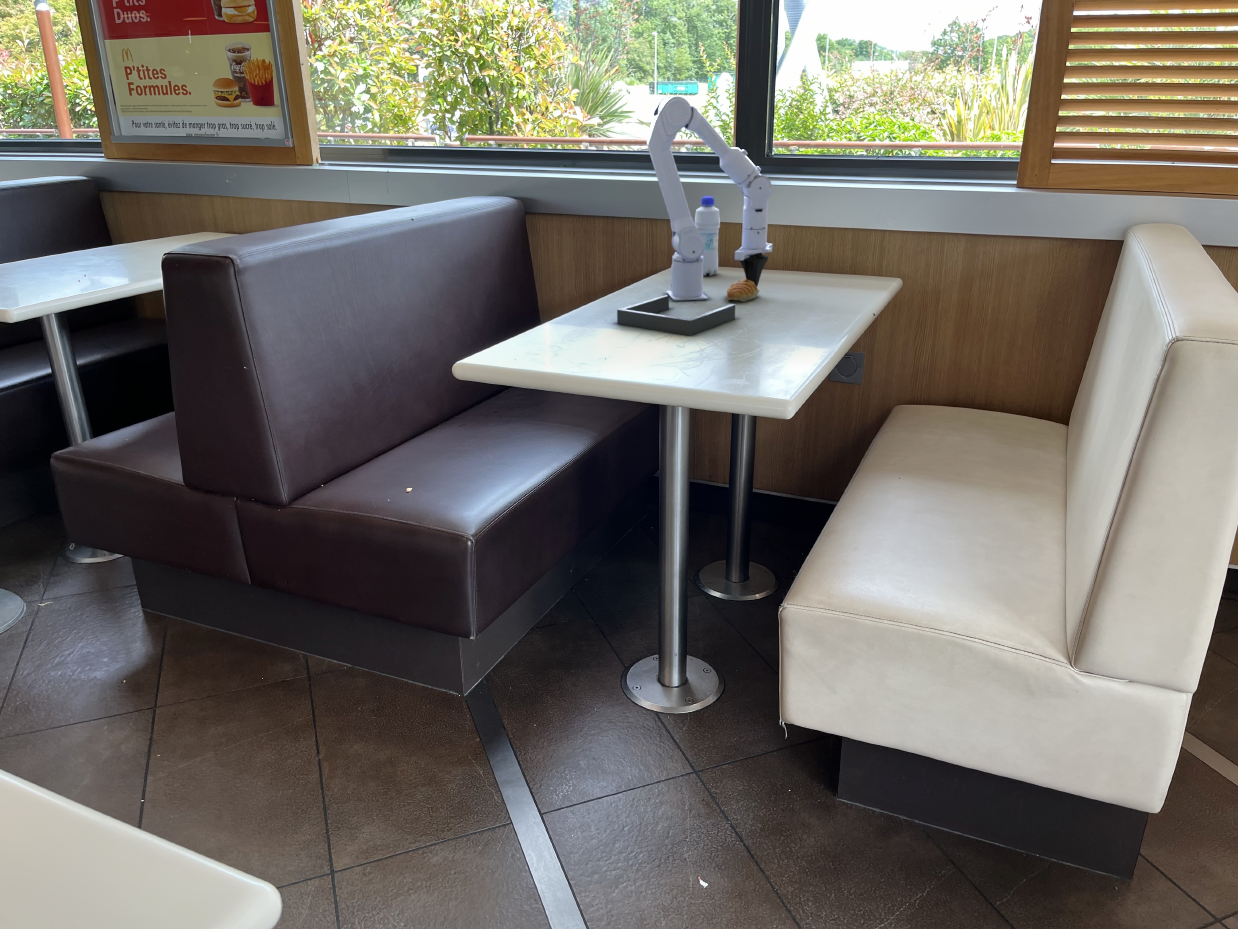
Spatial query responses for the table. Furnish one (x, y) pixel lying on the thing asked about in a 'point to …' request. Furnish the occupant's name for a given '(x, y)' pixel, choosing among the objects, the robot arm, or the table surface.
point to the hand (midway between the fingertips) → (752, 286)
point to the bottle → (708, 233)
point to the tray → (647, 318)
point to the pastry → (742, 291)
